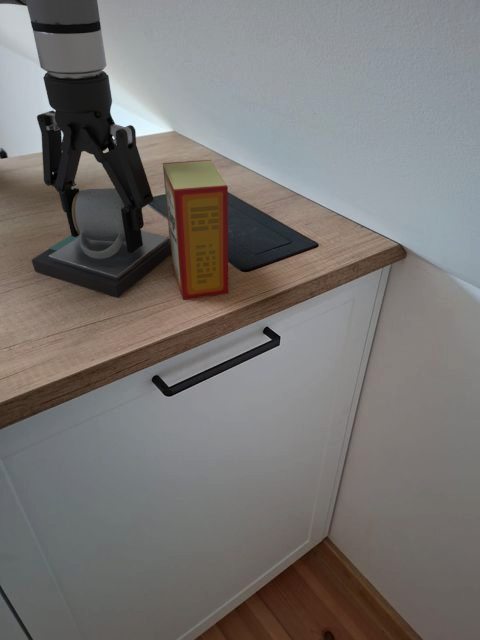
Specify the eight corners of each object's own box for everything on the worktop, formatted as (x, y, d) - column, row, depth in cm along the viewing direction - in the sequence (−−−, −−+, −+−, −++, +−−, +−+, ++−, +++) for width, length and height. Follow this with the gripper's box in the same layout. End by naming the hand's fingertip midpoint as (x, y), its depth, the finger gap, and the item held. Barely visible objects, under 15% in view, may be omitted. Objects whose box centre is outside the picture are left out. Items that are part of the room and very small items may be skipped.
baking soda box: (172, 265, 75) (162, 160, 65) (213, 260, 77) (210, 157, 66) (183, 299, 68) (174, 187, 58) (228, 293, 70) (227, 183, 60)
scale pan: (49, 260, 71) (48, 255, 71) (106, 225, 80) (105, 220, 80) (117, 281, 68) (116, 276, 67) (168, 241, 77) (168, 237, 76)
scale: (34, 271, 72) (30, 258, 71) (100, 230, 83) (97, 218, 82) (118, 297, 68) (115, 284, 67) (175, 251, 79) (174, 238, 77)
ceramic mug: (90, 225, 77) (80, 177, 72) (142, 227, 77) (136, 179, 72) (69, 260, 69) (56, 209, 64) (127, 262, 69) (119, 211, 64)
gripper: (171, 77, 58) (184, 246, 72) (27, 55, 64) (65, 215, 79) (133, 90, 53) (155, 270, 67) (-19, 65, 59) (31, 234, 74)
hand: (106, 240), depth 73 cm, fingers closed on ceramic mug, 9 cm apart
